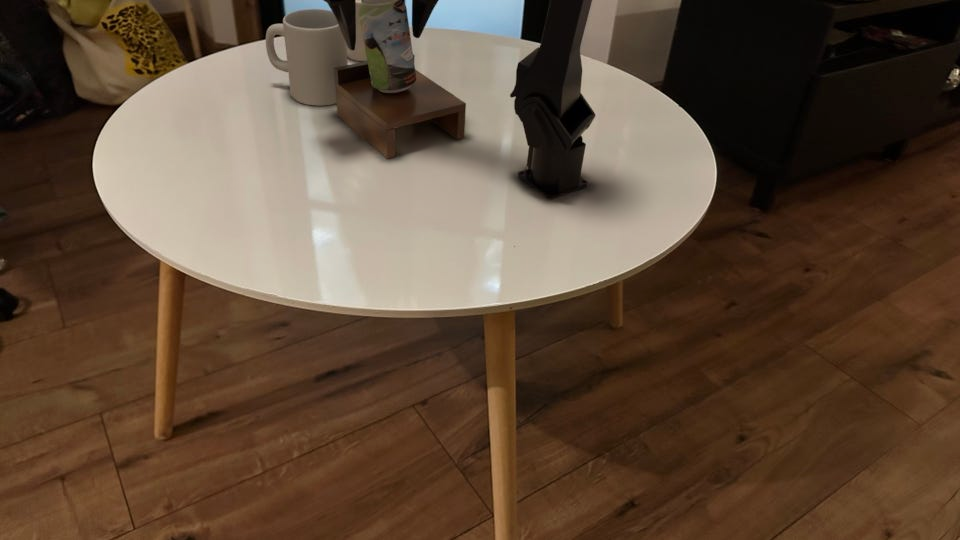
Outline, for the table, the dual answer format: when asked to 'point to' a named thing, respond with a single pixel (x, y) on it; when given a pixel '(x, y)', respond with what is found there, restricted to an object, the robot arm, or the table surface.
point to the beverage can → (387, 44)
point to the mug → (309, 54)
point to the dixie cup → (358, 39)
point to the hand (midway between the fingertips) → (384, 43)
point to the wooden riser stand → (393, 107)
